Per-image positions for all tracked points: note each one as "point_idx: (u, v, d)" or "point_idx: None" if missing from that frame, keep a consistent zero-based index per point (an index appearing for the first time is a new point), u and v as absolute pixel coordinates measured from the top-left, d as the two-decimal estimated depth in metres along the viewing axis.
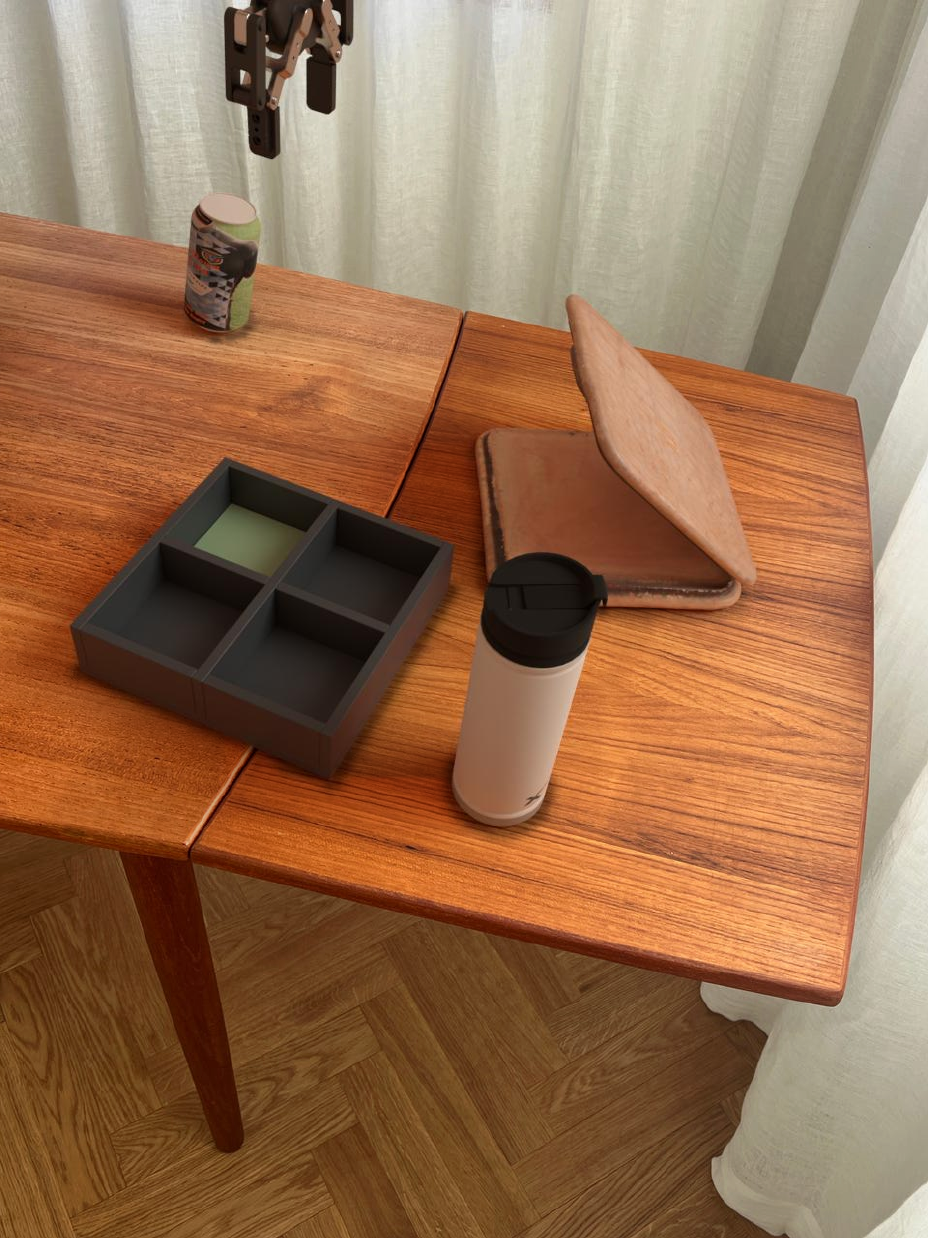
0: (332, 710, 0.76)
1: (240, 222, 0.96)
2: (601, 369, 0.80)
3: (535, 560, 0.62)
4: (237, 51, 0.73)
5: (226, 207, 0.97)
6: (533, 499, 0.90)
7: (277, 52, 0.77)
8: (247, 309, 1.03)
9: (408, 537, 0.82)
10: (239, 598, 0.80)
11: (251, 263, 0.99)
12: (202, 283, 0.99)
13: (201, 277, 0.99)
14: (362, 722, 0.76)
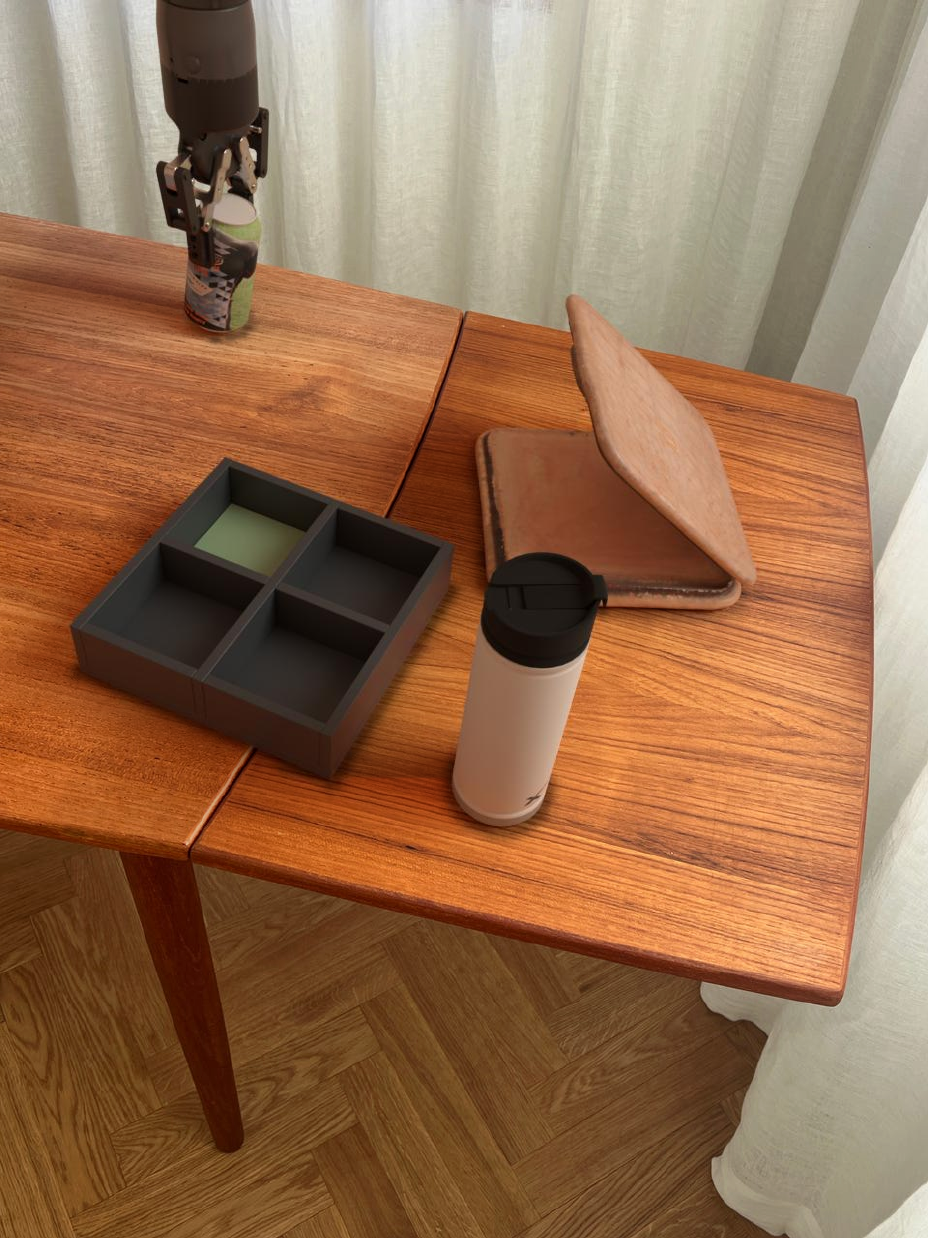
0: (332, 710, 0.76)
1: (240, 223, 0.96)
2: (601, 369, 0.80)
3: (535, 560, 0.62)
4: (170, 195, 0.90)
5: (226, 207, 0.97)
6: (533, 499, 0.90)
7: (203, 183, 0.93)
8: (247, 309, 1.03)
9: (408, 537, 0.82)
10: (239, 598, 0.80)
11: (251, 264, 0.99)
12: (202, 283, 0.99)
13: (201, 277, 0.99)
14: (362, 722, 0.76)
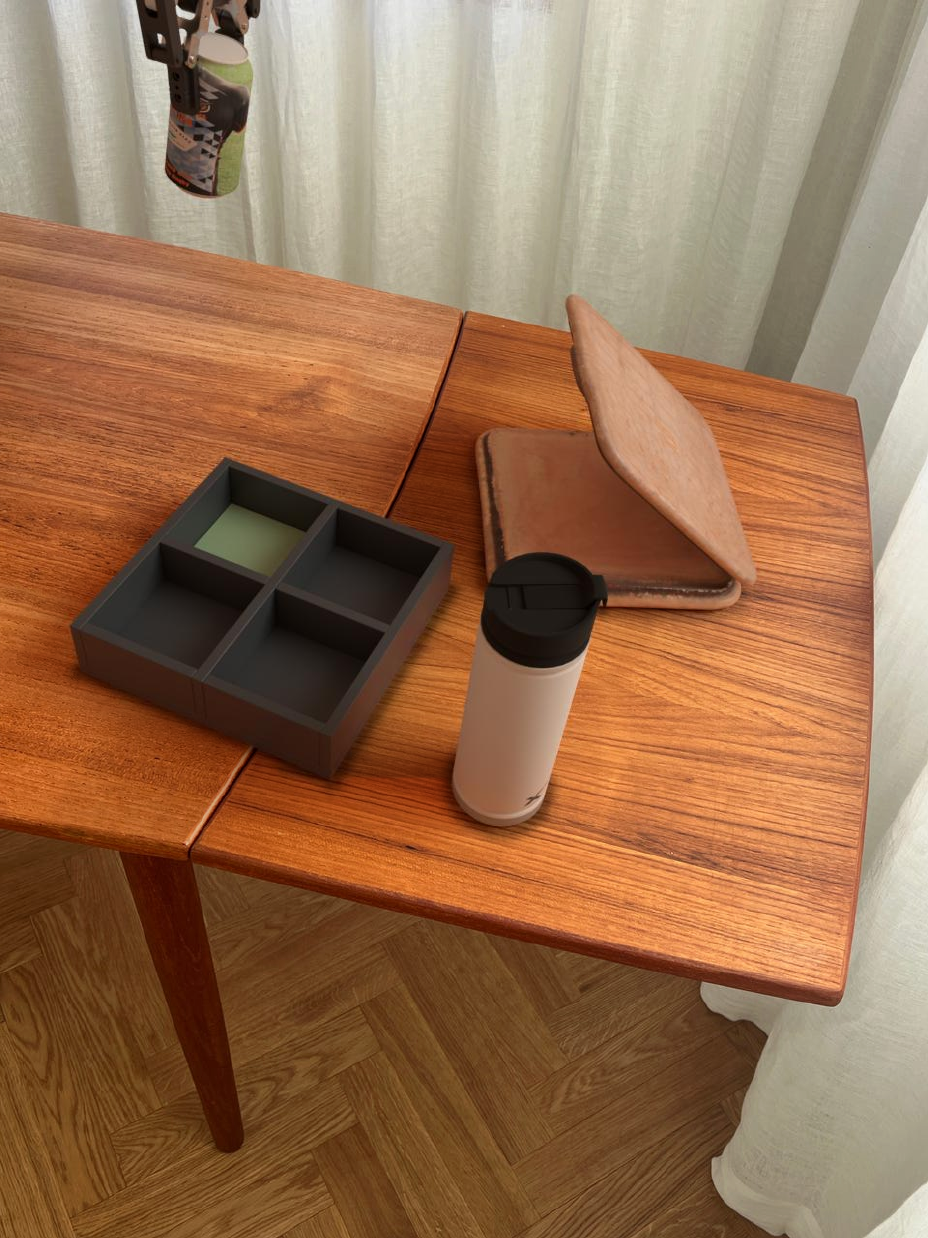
0: (332, 710, 0.76)
1: (230, 62, 0.84)
2: (601, 369, 0.80)
3: (535, 560, 0.62)
4: (149, 16, 0.78)
5: (214, 46, 0.85)
6: (533, 499, 0.90)
7: (187, 10, 0.81)
8: (237, 172, 0.92)
9: (408, 537, 0.82)
10: (239, 598, 0.80)
11: (242, 115, 0.88)
12: (186, 136, 0.88)
13: (185, 129, 0.87)
14: (362, 722, 0.76)
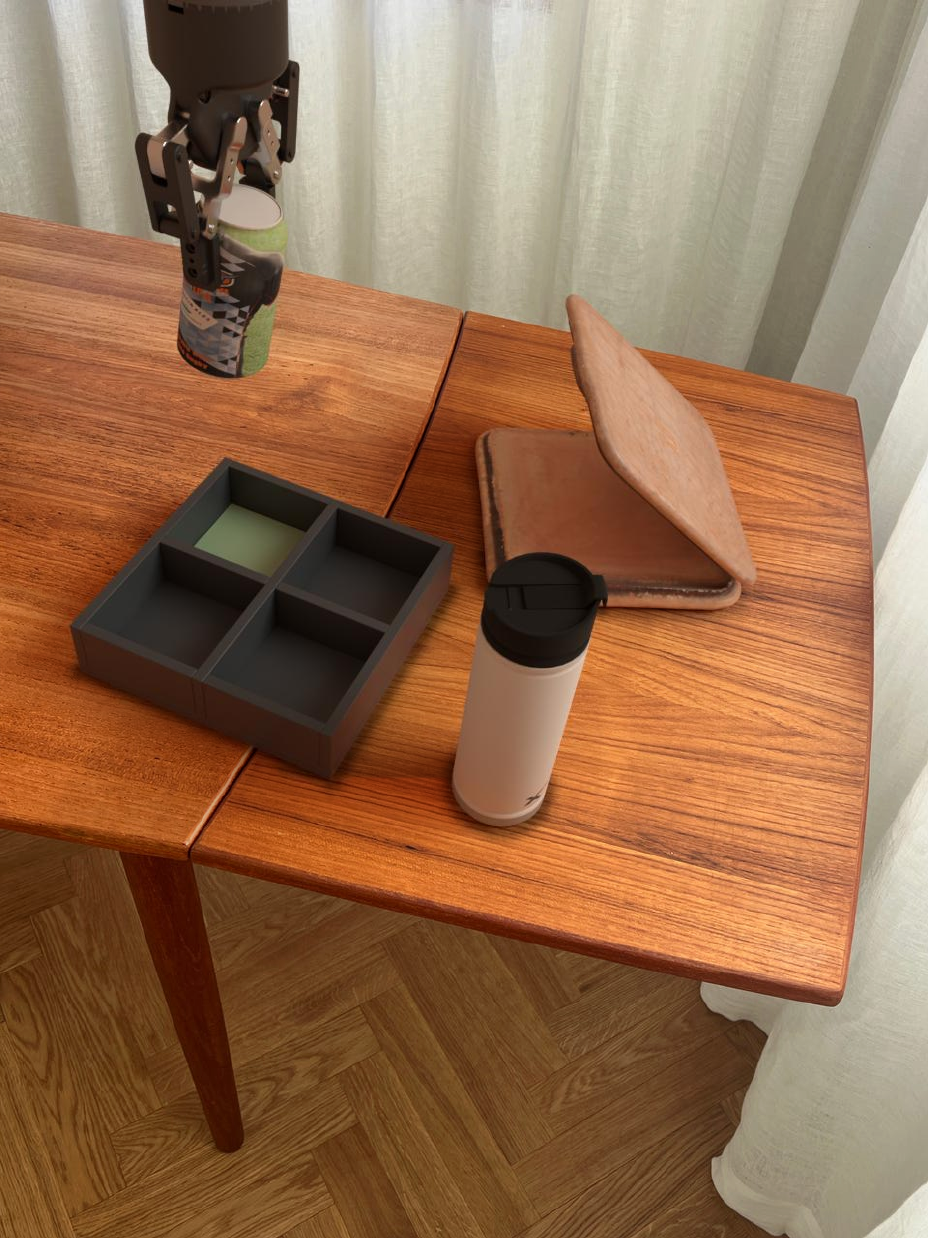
0: (332, 710, 0.76)
1: (260, 226, 0.66)
2: (601, 369, 0.80)
3: (535, 560, 0.62)
4: (156, 184, 0.60)
5: (239, 204, 0.67)
6: (533, 499, 0.90)
7: (205, 167, 0.63)
8: (266, 347, 0.73)
9: (408, 537, 0.82)
10: (239, 598, 0.80)
11: (274, 285, 0.70)
12: (204, 312, 0.70)
13: (203, 304, 0.69)
14: (362, 722, 0.76)
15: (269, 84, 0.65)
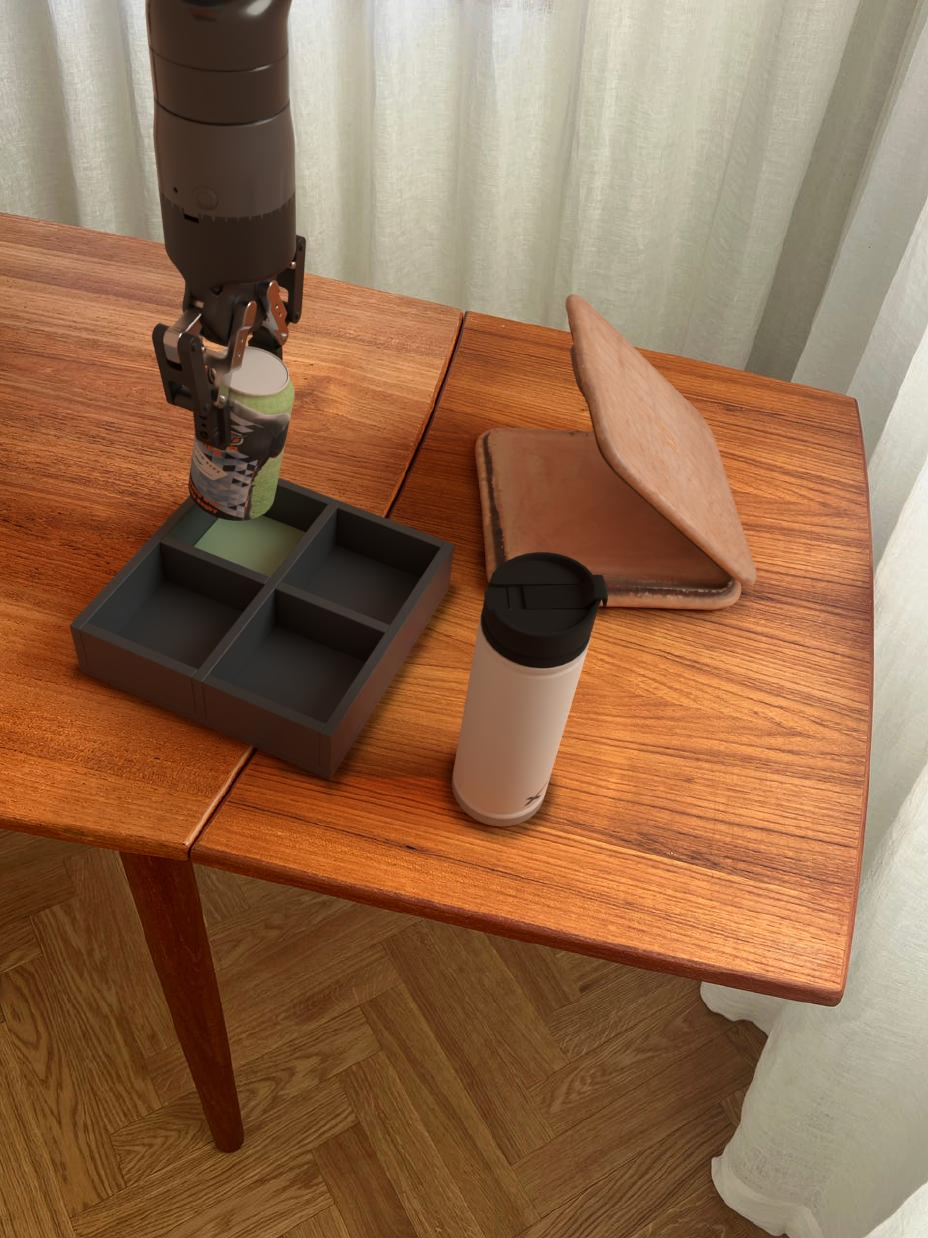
0: (332, 710, 0.76)
1: (268, 392, 0.70)
2: (601, 369, 0.80)
3: (535, 560, 0.62)
4: (171, 368, 0.64)
5: (248, 369, 0.71)
6: (533, 499, 0.90)
7: None
8: (273, 491, 0.78)
9: (408, 537, 0.82)
10: (239, 598, 0.80)
11: (281, 440, 0.74)
12: (214, 466, 0.74)
13: (213, 459, 0.73)
14: (362, 722, 0.76)
15: None
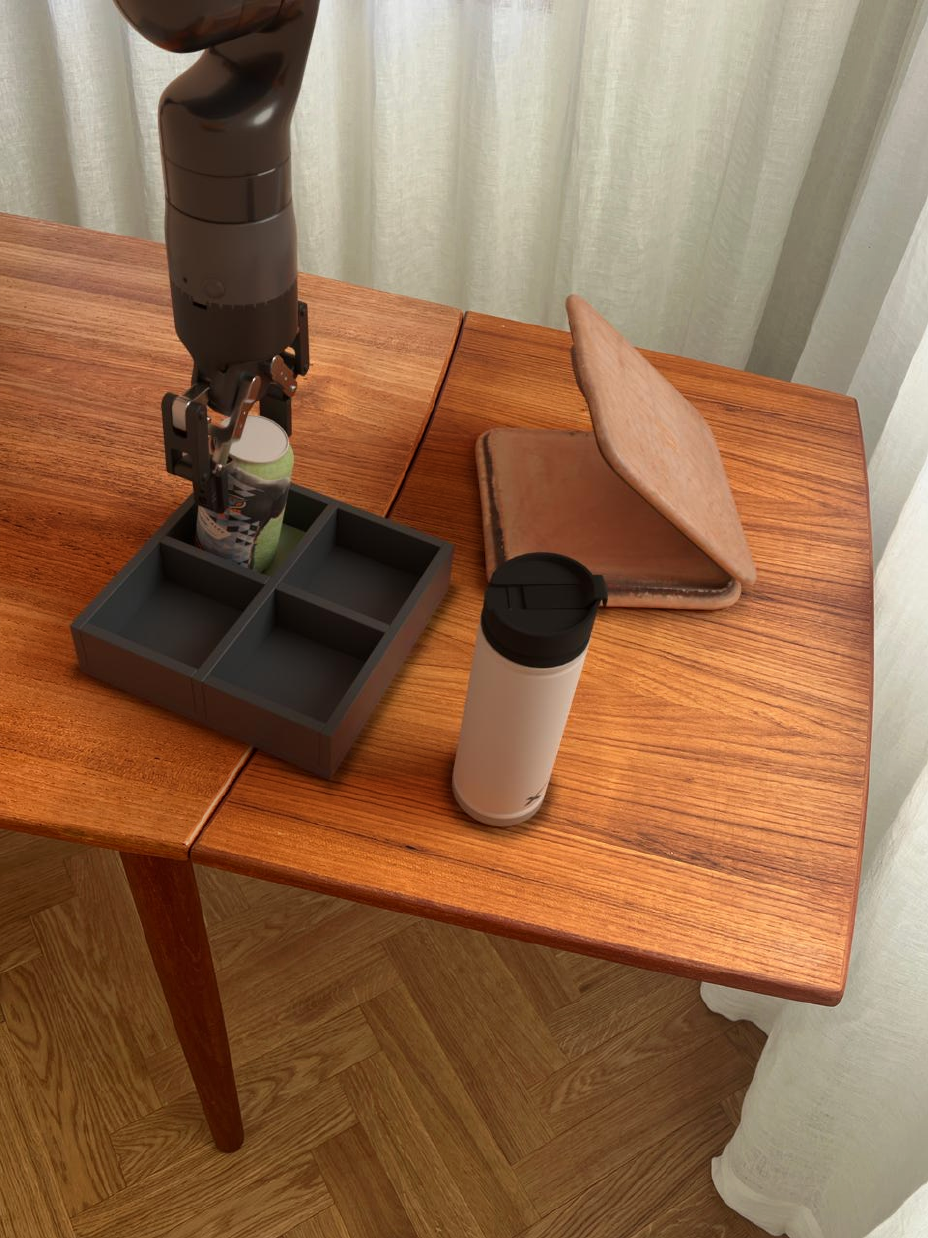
0: (332, 710, 0.76)
1: (268, 459, 0.74)
2: (601, 369, 0.80)
3: (535, 560, 0.62)
4: (176, 435, 0.67)
5: (250, 437, 0.76)
6: (533, 499, 0.90)
7: None
8: (275, 548, 0.82)
9: (408, 537, 0.82)
10: (239, 598, 0.80)
11: (281, 501, 0.78)
12: (218, 527, 0.78)
13: (218, 520, 0.77)
14: (362, 722, 0.76)
15: None
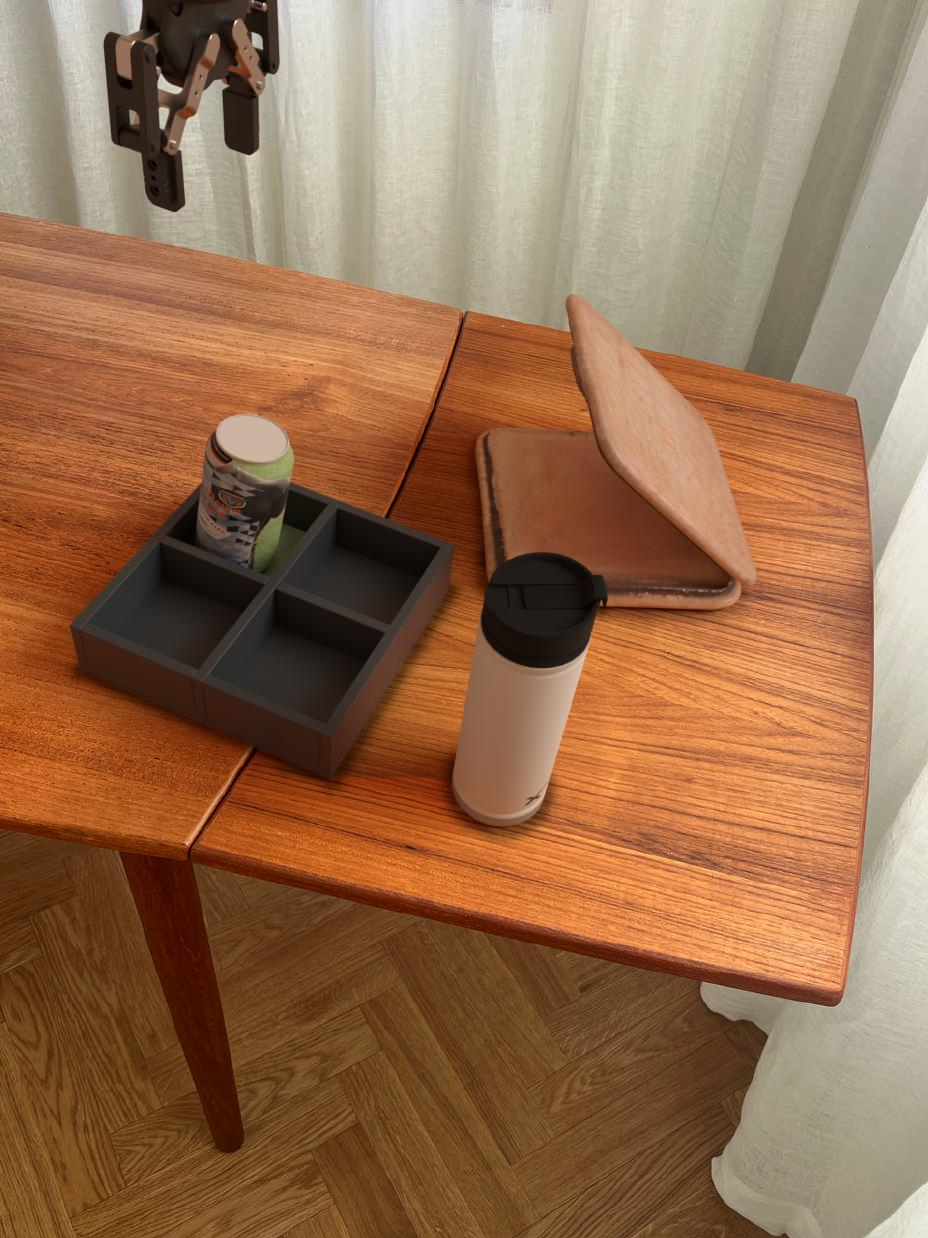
0: (332, 710, 0.76)
1: (268, 459, 0.74)
2: (601, 369, 0.80)
3: (535, 560, 0.62)
4: (121, 86, 0.60)
5: (250, 437, 0.76)
6: (533, 499, 0.90)
7: (178, 85, 0.63)
8: (275, 548, 0.82)
9: (408, 537, 0.82)
10: (239, 598, 0.80)
11: (281, 501, 0.78)
12: (218, 527, 0.78)
13: (218, 520, 0.77)
14: (362, 722, 0.76)
15: (244, 5, 0.65)
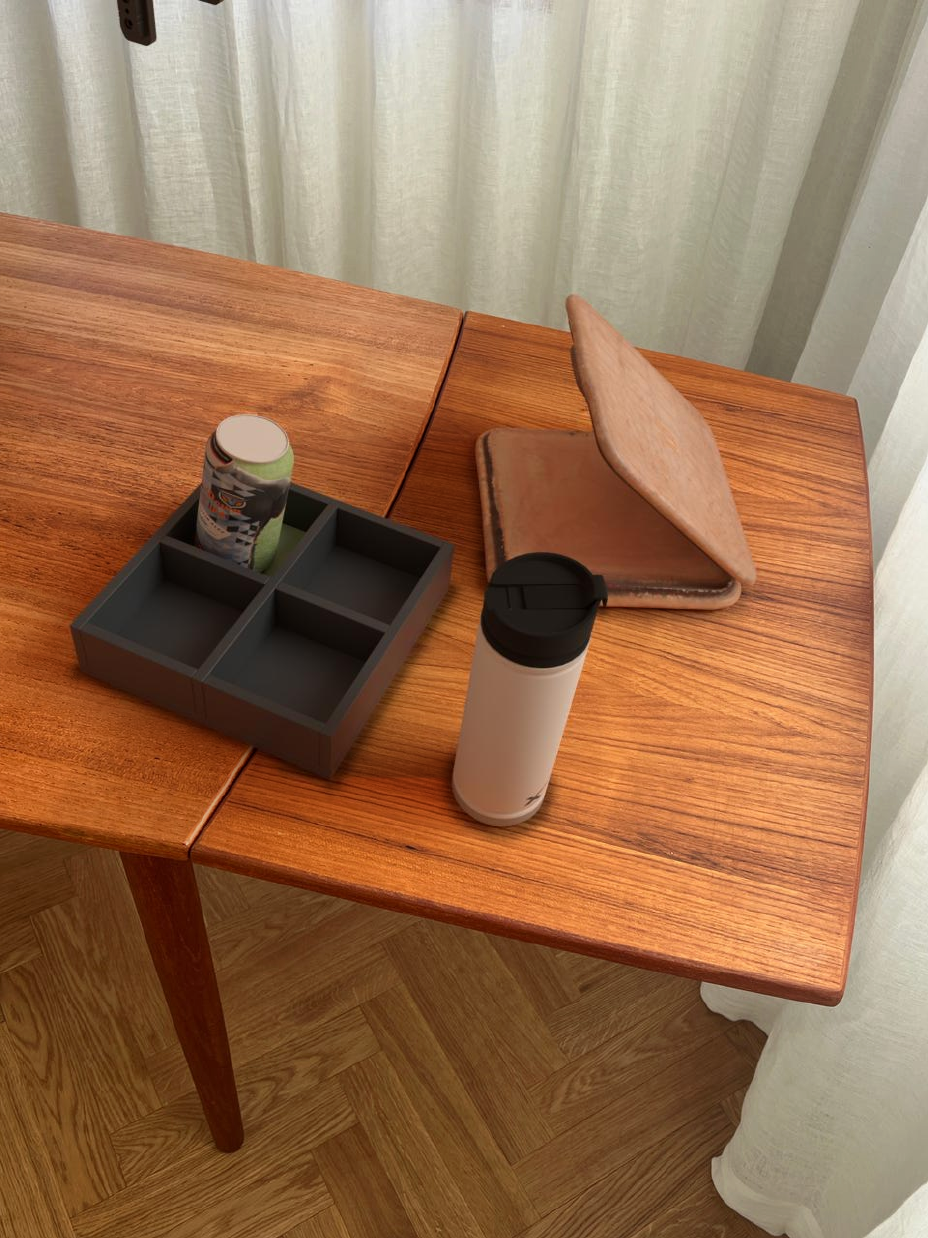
0: (332, 710, 0.76)
1: (268, 459, 0.74)
2: (601, 369, 0.80)
3: (535, 560, 0.62)
4: None
5: (250, 437, 0.76)
6: (533, 499, 0.90)
7: None
8: (275, 548, 0.82)
9: (408, 537, 0.82)
10: (239, 598, 0.80)
11: (281, 501, 0.78)
12: (218, 527, 0.78)
13: (218, 520, 0.77)
14: (362, 722, 0.76)
15: None
